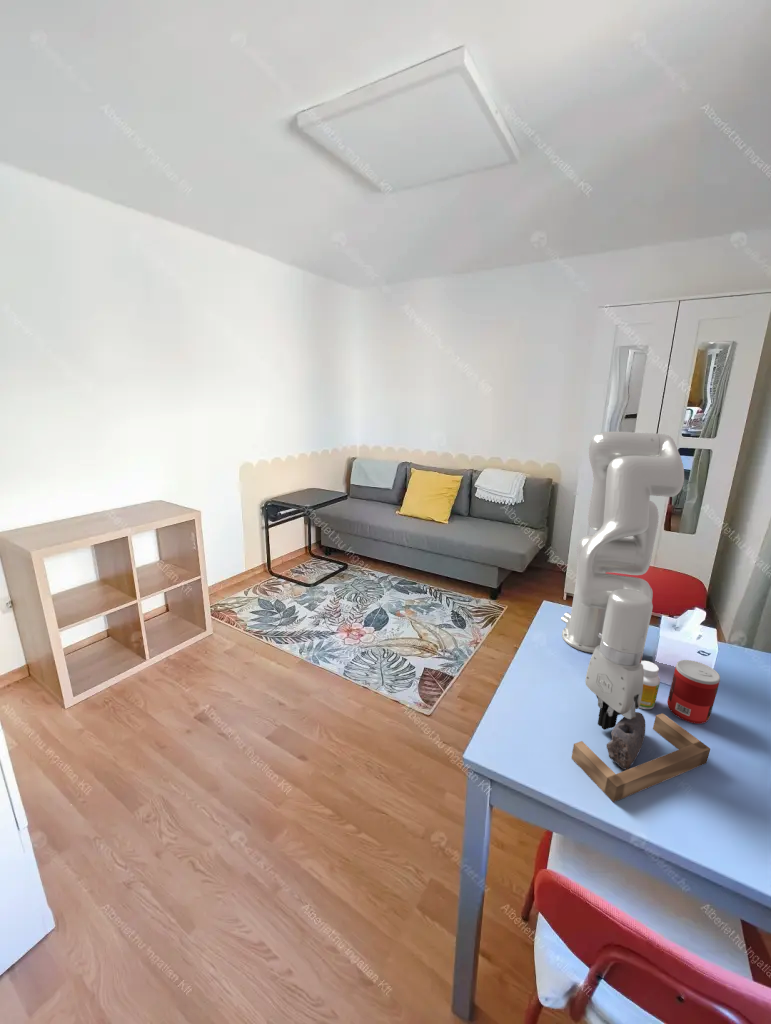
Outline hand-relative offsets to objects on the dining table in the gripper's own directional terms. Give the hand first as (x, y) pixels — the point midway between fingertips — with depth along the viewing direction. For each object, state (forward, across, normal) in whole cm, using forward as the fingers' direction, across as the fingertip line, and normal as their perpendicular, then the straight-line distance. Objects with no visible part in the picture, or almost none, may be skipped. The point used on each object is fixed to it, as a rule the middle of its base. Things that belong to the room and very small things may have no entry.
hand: (606, 725), depth 92 cm
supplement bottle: (+2, -4, +15) cm, 15 cm away
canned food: (+2, +2, +22) cm, 22 cm away
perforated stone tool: (+2, +5, 0) cm, 6 cm away
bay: (+1, +8, 0) cm, 8 cm away
